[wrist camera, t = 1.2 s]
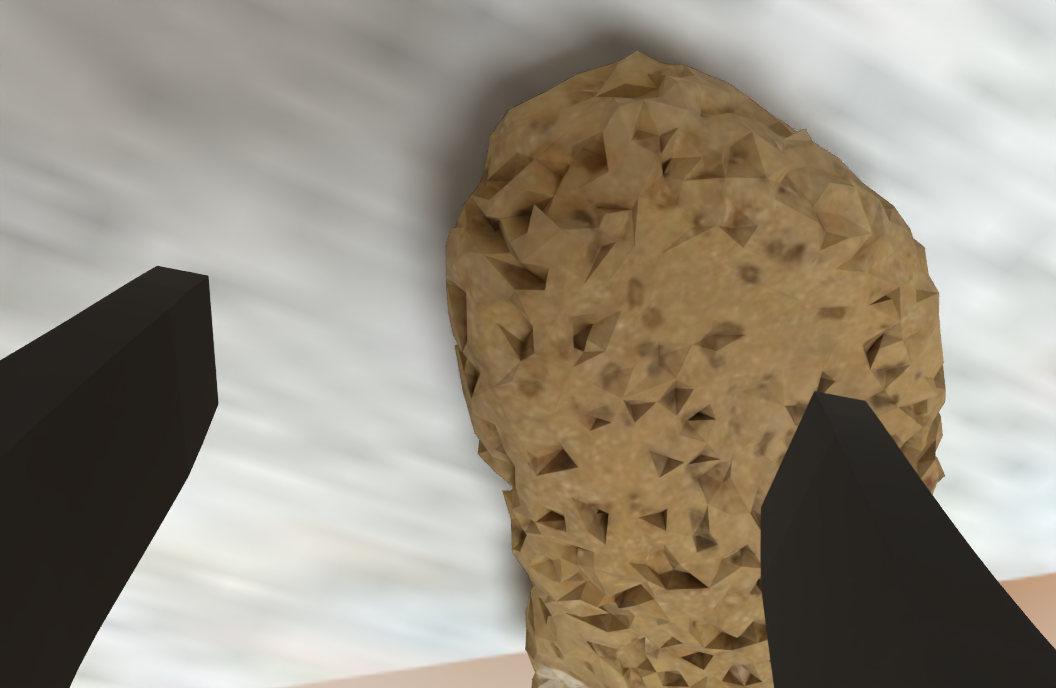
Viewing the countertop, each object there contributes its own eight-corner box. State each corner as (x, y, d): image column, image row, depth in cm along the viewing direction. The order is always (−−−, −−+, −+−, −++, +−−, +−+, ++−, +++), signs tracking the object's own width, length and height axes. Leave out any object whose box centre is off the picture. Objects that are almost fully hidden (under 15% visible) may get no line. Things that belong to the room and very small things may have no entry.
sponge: (796, 573, 34) (1126, 76, 19) (830, 806, 28) (1326, 358, 14) (428, 525, 33) (482, -26, 19) (391, 754, 28) (425, 228, 13)
